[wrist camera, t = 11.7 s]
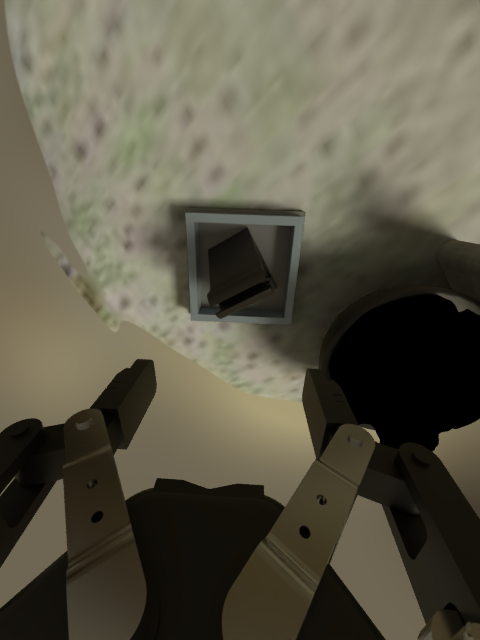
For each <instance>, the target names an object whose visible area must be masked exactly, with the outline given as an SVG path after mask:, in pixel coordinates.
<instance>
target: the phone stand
mask: <svg viewBox="0 0 480 640" xmlns="http://www.w3.org/2000/svg"><path fill="white" fill-rule="evenodd" d="M208 259H209V276H210V291H209V292H208V293H207V299H208V302H209V305H210V307H212V306H214V305H216V304H219V306H220V310H221V311H219V312H217V313H215V315H216V316H217V317H218V318H219V319H222V318H224V317H226V316H228V315H231V314H233V313H235V312H237V311H239V310H241V309H243V308H245V307H247V306H249V305H251V304H253V303H255V302H257V301H260V300H262V299H264V298H266V297H268V296H270V295H272V294H274V291H273V289H275V288H277V285H276V283H275V281H274V279H273V277H272V275H271V273H270V271H269V269H268V267H267V265H266V263H265V261H264V259H263V257H262V255H261V253H260V251H259V249H258V247H257V245H256V243H255V241H254V239H253V237H252V235H251V233H250V231H249V229H248V227H247V228H246V229H244V230H242V231H240V232H239V233H237V234H235V235H233V236H231V237H230V238H228V239H226V240H224V241H223V242H221V243H219V244H217V245H215V246H214V247H212V248H210V249H208Z"/></svg>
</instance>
